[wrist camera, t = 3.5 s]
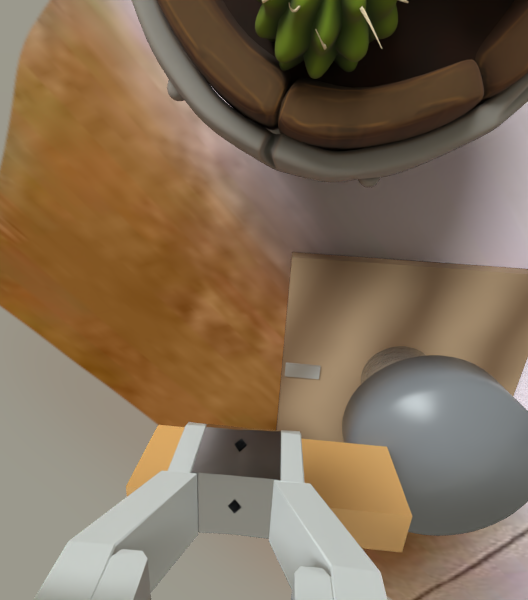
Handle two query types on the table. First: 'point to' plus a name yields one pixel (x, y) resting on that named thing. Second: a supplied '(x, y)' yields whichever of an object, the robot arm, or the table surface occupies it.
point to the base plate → (391, 327)
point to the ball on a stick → (409, 454)
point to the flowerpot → (343, 77)
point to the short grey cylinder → (388, 359)
